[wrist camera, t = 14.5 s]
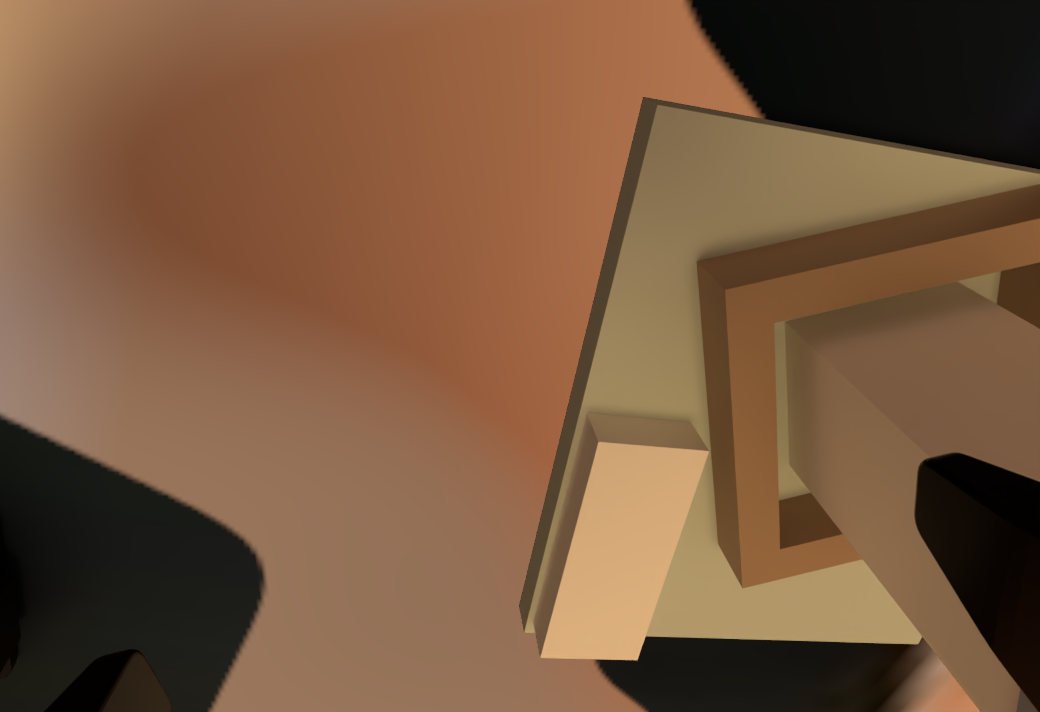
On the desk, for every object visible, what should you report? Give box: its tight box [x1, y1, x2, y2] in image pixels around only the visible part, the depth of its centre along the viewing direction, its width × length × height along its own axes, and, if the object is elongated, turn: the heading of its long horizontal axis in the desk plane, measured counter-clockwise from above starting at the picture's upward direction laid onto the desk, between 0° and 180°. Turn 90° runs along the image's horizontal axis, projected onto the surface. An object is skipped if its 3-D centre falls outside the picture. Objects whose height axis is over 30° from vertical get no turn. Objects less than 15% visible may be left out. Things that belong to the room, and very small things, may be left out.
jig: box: [519, 97, 1040, 644], centre depth 23 cm, size 15×17×3 cm
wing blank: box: [533, 413, 709, 660], centre depth 23 cm, size 3×8×2 cm, turn 170°
